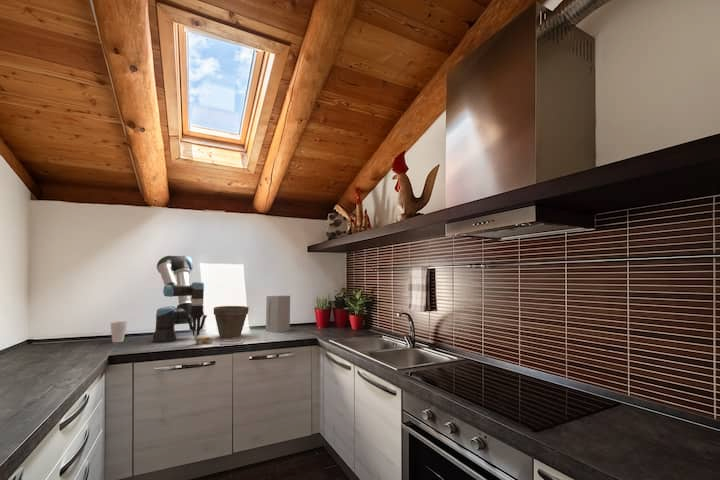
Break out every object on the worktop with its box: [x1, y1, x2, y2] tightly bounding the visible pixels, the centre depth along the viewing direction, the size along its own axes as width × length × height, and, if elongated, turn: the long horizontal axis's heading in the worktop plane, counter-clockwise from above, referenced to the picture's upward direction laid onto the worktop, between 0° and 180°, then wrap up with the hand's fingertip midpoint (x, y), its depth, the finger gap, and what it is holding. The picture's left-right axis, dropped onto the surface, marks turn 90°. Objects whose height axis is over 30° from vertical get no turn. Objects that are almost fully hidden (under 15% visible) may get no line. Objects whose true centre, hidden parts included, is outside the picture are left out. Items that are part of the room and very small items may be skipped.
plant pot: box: [213, 305, 249, 339], centre depth 274 cm, size 25×25×22 cm
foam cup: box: [110, 320, 128, 343], centre depth 254 cm, size 10×9×13 cm
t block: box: [195, 336, 214, 346], centre depth 246 cm, size 9×8×4 cm
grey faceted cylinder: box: [265, 295, 291, 334], centre depth 299 cm, size 19×15×28 cm
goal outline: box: [219, 339, 246, 346], centre depth 248 cm, size 14×13×1 cm
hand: (195, 340), depth 245 cm, fingers closed
